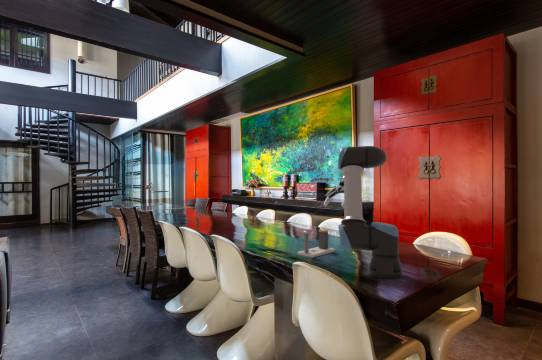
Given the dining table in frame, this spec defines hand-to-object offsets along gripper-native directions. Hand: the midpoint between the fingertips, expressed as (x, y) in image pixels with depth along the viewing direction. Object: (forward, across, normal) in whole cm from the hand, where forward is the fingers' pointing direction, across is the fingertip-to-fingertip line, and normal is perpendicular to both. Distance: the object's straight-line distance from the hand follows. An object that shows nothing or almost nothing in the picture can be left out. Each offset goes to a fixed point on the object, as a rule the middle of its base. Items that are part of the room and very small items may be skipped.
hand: (333, 205), depth 187 cm
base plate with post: (+32, 0, -7) cm, 33 cm away
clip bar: (+27, +6, +7) cm, 29 cm away
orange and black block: (+25, 0, -10) cm, 27 cm away
